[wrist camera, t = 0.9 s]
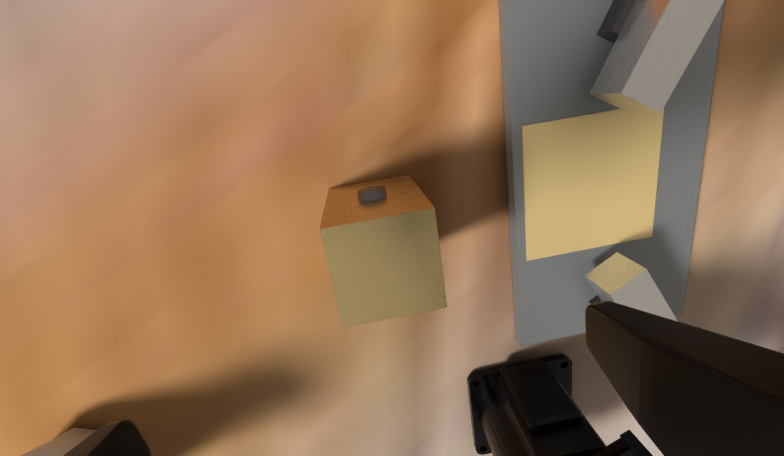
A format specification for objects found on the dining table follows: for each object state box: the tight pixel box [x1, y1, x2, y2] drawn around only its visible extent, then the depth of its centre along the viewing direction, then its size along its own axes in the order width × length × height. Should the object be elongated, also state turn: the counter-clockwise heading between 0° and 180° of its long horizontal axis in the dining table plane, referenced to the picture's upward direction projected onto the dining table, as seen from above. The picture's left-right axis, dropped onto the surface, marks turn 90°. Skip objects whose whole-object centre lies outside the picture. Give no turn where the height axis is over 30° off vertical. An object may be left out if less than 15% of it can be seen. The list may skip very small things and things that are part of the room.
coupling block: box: [320, 175, 447, 328], centre depth 16 cm, size 5×4×6 cm
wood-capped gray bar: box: [585, 0, 724, 321], centre depth 17 cm, size 18×4×3 cm, turn 9°
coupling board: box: [499, 0, 725, 346], centre depth 19 cm, size 18×10×1 cm, turn 9°
